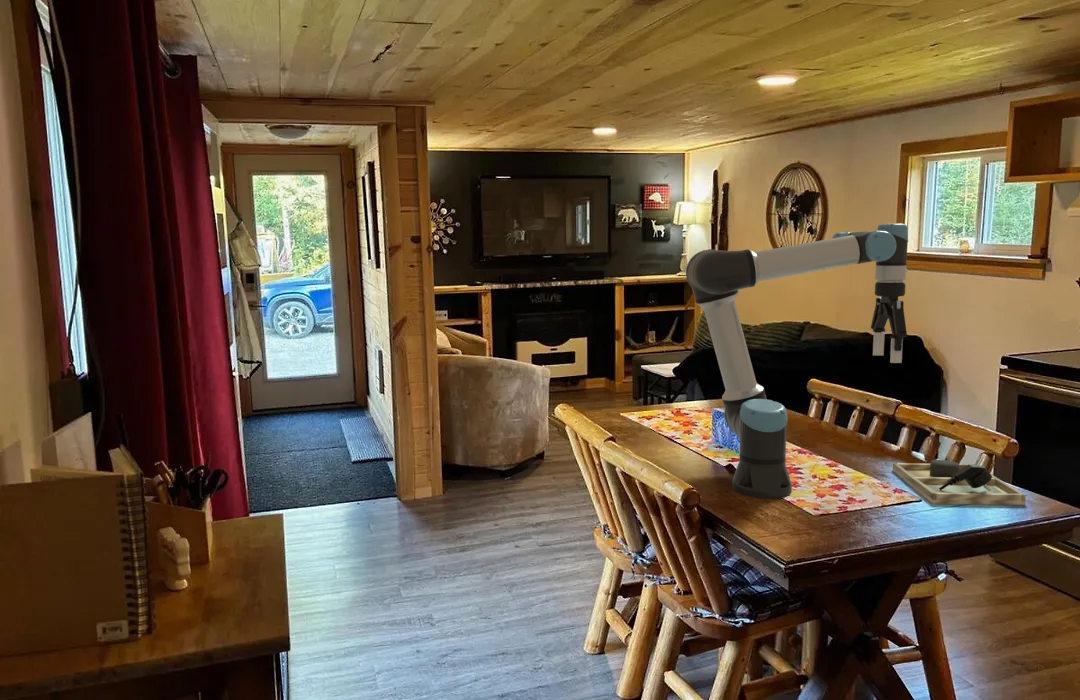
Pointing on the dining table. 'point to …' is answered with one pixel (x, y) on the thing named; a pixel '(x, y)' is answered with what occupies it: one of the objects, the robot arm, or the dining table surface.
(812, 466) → the dining table surface
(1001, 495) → the organizer
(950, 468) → the dark gray rounded block
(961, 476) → the power plug
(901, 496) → the dining table surface
